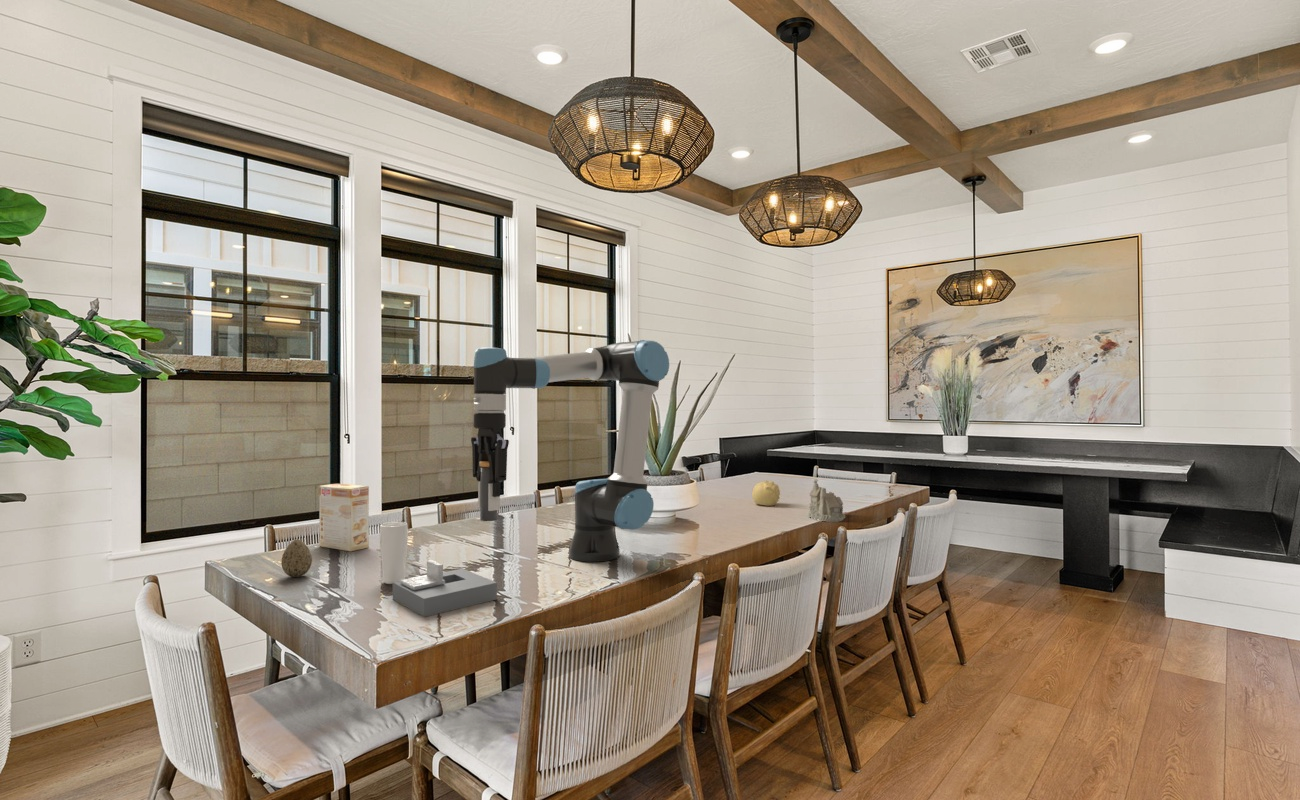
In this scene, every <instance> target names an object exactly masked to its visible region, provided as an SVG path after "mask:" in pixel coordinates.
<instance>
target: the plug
mask: <svg viewBox="0 0 1300 800" xmlns="http://www.w3.org/2000/svg"><path fill="white" fill-rule="evenodd" d="M479 466H481V493H480V508H479V509H480V513H479V516H480V521H481V522H495V521H497V520H498V510H494V511H488V481H491V480H490V469H489V461H480V462H479Z"/></svg>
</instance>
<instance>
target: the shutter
mask: <svg viewBox="0 0 1300 800" xmlns="http://www.w3.org/2000/svg"><path fill="white" fill-rule="evenodd" d="M443 572H444V564H443V563H440V562H438V561H435V560H433V559H429V560H426V574H423V575H420V576H419V575H418V576H415V577H414V576H413V577H409V578H405V579H403V580H400V583H401V584H403V585H405V586H407V587H408V588H410V589H412V590H418V589H423V588H428V587H432V586H437V585H442V584H445V580H443Z"/></svg>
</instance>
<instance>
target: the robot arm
mask: <svg viewBox="0 0 1300 800" xmlns="http://www.w3.org/2000/svg"><path fill="white" fill-rule="evenodd" d="M669 369H670V359H669V355H668V353H667V351H666V350H665V348H664V346H663V345H662V344H661V343H659V342H658V341H655V340H645V339H640V340H634V341H626V342H625V341H623V342H621V341H620V342H617V343H615V342H614V343H611V344H608V345H603V346H598V347H592V348H587V350H585V351H583V352H575V353H573V352H572V353H563V354H562V353H561V354H552V355H541V356H540V355H539V356H529V357H510V356H508V355H507V351H506V349H504V348H499V347H479V348H477V349H476V350H475V351H474V359H473V390H474V391H473V400H472V401H473V410H474V411H476V412H474V414H473V428H475V429H478V431H477V436H473V437H471V438H470V441H471V445H472V451H471V453H472V477H473V478H476V481H477V482H478V483H477V487H478V488H477V493H478V494H477V495H478V497H477V508H478V509H480V493H481V466H479V462H480V461H489V469H490V480H491V481H488V511H494V510H497V511H500V510H501V483H502V482H505V481H506V480H507V471H508V470H507V469H508V467H507V465H508V448H509V444H510V440H509V439H504V438H503V435H502V434H503V433H502V429H505V428H506V425H507V424H506V421H507V417H506V414H505V412H506V410H507V389H533V390H535V389H542V388H543V389H544V388H545V387H547V385H548V384H549V383H554V382H562V381H573V380H579V379H587V378H588V379H589V380H591V381H600V380H601V381H602V380H603V381H604V380H605V381H616V382H618V386H619V387H620V388H621V390H622V397H621V398H622V399H621V406H620V414H619V422H618V423H619V424H618V432H617V440H616V450H615V456H614V457H615V458H614V467H613V473H612V474H611V475H610V476H609V477H607V478H597V479H587V480H579V481H578V482H576V484H575V487H574V488H575V490H574V533H573V536H572V539H571V543H570V547H569V548H568V550H569V551H568V556H569V559H571V560H574V561H578V562H590V563H591V562H594V563H595V562H606V561H608V562H609V561H613V560H615V559H617V558H619V557H620V555H621V554H620V545H619V542H618V539H617V536H616V533H615V529H614V528H615V527H616V528H619V529H621V530H631V531H632V530H633V531H634V530H638V529H641V528H642V527H644V526H645V524H646V523H648V522H649V520H650V519H651V516H652V514H653V510H654V499H653V497H652V494H651V493H650V492H649V491H648V481H647V480H646V479H645V477H644V474H645V473H644V472H645V465H646V464H645V463H646V456H647V455H646V454H647V453H646V452H647V446H648V435H649V429H650V420H651V419H650V418H651V412H652V411H651V410H652V402H653V401H652V400H653V394H655V393H656V392H657V391H658V390H659V386H660V381H662V380H664V379H665V378H666V376H668V372H669Z"/></svg>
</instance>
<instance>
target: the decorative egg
mask: <svg viewBox="0 0 1300 800" xmlns="http://www.w3.org/2000/svg"><path fill="white" fill-rule="evenodd" d="M312 563H313V556H312V553H311V551H310V548H309V547H308V546H307V544H306V543H305V542H304V541H302V540H300V539H297V538H296V539H294V540H293V541H291V542H290V543H289V544H288V545H287V547H285V550H284V551H283V554H282V556H281V568H282V570H283V572H284V574H286V575H287V576H288V577H291V578H300V577H303V576H304V575H306V574H307V573H308V572H309V570H310V569H311V567H312Z"/></svg>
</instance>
